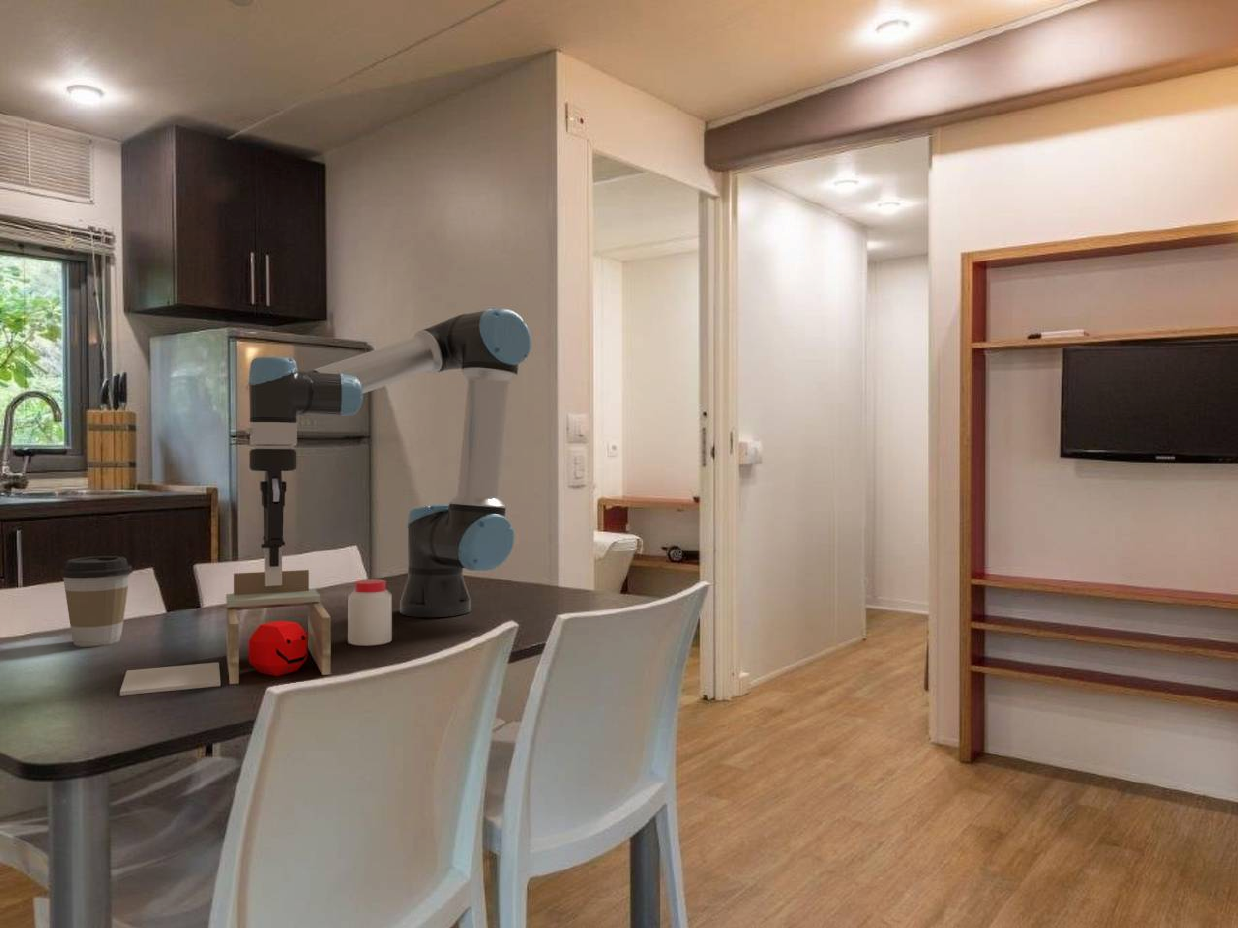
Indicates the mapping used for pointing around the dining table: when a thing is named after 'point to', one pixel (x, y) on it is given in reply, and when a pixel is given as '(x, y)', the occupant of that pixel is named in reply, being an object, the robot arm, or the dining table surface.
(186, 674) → the mat
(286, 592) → the cover
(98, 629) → the coffee cup
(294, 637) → the ball
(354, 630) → the pill bottle
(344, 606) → the dining table surface
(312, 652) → the wooden goalpost gate
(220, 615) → the dining table surface
